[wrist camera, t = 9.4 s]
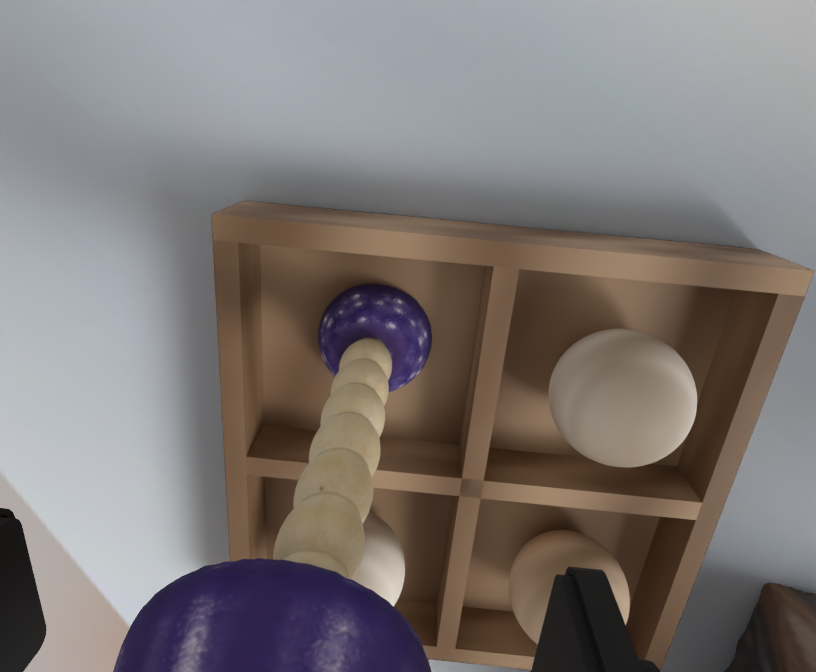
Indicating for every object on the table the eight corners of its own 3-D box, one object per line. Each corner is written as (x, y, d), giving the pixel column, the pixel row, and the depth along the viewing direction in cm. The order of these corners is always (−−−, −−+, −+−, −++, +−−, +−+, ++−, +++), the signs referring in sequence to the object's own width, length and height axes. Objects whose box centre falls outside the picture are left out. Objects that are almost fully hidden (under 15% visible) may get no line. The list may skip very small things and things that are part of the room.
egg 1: (412, 490, 22) (406, 577, 18) (403, 572, 24) (396, 669, 20) (304, 479, 22) (273, 563, 18) (303, 562, 24) (275, 656, 20)
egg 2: (677, 315, 19) (747, 371, 15) (645, 426, 21) (699, 504, 16) (549, 303, 19) (583, 356, 15) (528, 414, 21) (552, 489, 16)
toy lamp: (454, 377, 20) (509, 1192, 5) (346, 416, 21) (96, 1210, 6) (404, 264, 19) (250, 931, 3) (290, 311, 20) (-260, 1008, 4)
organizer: (758, 249, 19) (814, 271, 16) (631, 622, 26) (655, 682, 23) (244, 200, 19) (211, 214, 16) (256, 583, 26) (234, 638, 23)
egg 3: (619, 511, 22) (663, 603, 18) (596, 592, 24) (630, 693, 20) (511, 500, 22) (529, 589, 18) (495, 582, 24) (508, 680, 20)
